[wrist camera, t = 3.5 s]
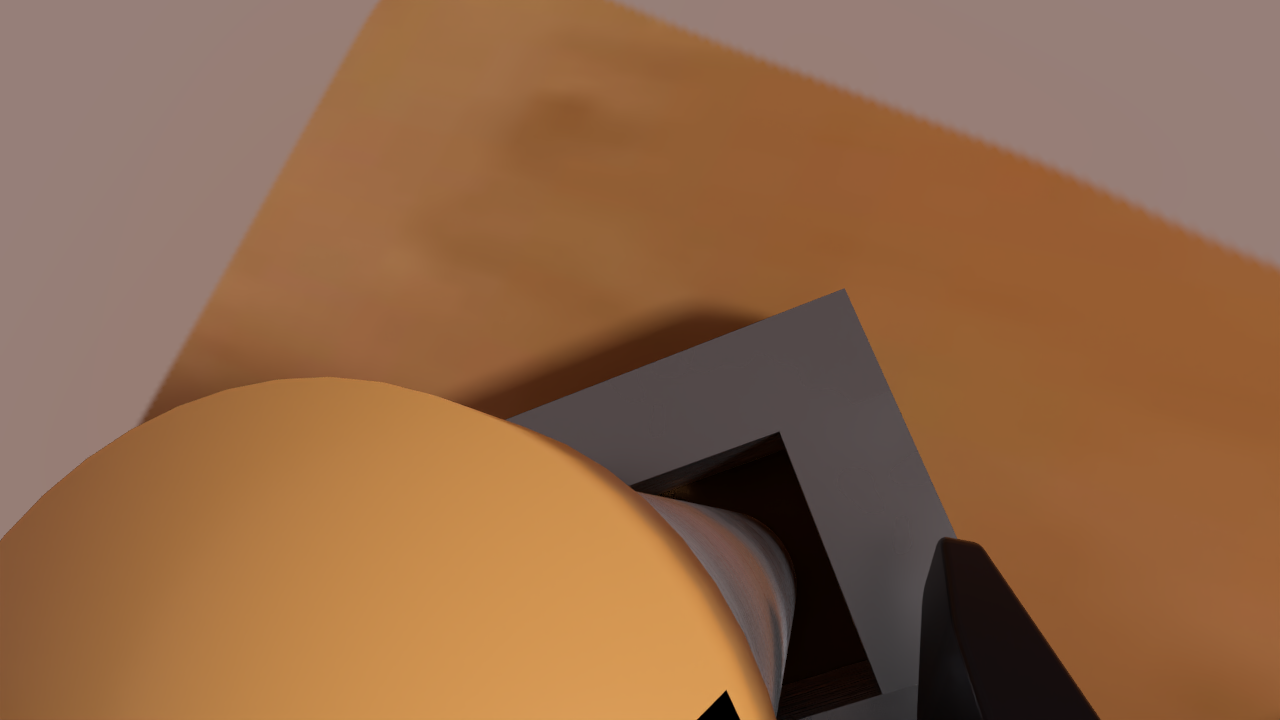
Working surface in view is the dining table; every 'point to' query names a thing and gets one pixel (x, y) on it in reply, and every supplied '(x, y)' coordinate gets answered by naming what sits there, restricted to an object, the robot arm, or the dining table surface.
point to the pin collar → (821, 460)
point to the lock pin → (379, 575)
